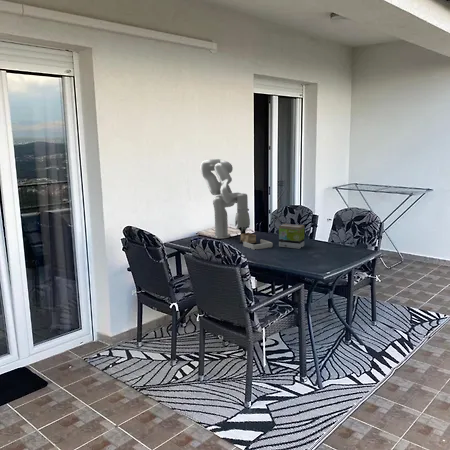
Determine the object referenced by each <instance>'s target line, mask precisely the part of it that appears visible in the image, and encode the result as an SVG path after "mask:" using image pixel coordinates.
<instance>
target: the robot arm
mask: <svg viewBox="0 0 450 450" xmlns="http://www.w3.org/2000/svg"><path fill="white" fill-rule="evenodd" d="M199 166H200V170H199V171H200V173H201V175H202V177H203V178H204V181H205V183H206V185H207V187H208V189H209V192H210V194H211V195H212V196H214V198H213V199H212V205H213V209H214V210H213V211H214V231H213V232H214V235H215V236H213V235H212V238H214V239H220V240H221V239H229V238H231V235H230V234H229V233H228V231H229V230H228V228H229V226H228V220H229V219H228V212H227V209H226V208H231V207H233V206H234V205H235V204H236V211H237V212H236V214H235V220H234V226H235V227H236V228H235V229H236V230H239V231H240V235H241V234H243V233H246V232H247V230H248V229H250V227H251V226H250V225H251V220H250V213H249V211H250V209H249V206H248V205H249V204H248V194H247V193H244V192H243V193H241V192H232V190H231V187H230V184H231V182H233V179H232V177H231V173H232V172H233V169H234V168H233V165H232V163H230V162H229V161H226V160H223V159H219V158H217V159H215V158H214V159H213V158H212V159H205V160H203V161H202V162H201V163H200V165H199ZM213 171H214V172H215V174H216V175H217V176H216V175H215V174H214V173H213ZM217 178H218V179H217Z"/></svg>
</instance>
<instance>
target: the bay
mask: <svg viewBox="0 0 450 450" xmlns="http://www.w3.org/2000/svg"><path fill="white" fill-rule="evenodd" d="M259 241H260V243H257V244H254V243H247V242H242V246H243V247H244V248H248V249H250V248H251V249H250V250H254V251H255V249H256V250H262V249H269V248H273V243H274V242H272V241H269V240H265V239H260V240H259Z"/></svg>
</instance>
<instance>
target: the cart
mask: <svg viewBox="0 0 450 450" xmlns="http://www.w3.org/2000/svg"><path fill="white" fill-rule="evenodd" d="M243 242H247V243H250V244H254V245H257V244H258V241H257V235H256V234H253V233H251V232H245V233H243V234H241V233H240V240H239V244H243Z"/></svg>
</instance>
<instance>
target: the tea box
mask: <svg viewBox="0 0 450 450" xmlns="http://www.w3.org/2000/svg"><path fill="white" fill-rule="evenodd" d="M304 246H305V224H293V223H282V224H281V225H278V247H279V248H281V247H282V248H289V249H290V248H291V249H297V250H299V249H300V250H301V247H302V248H303V247H304Z"/></svg>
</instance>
